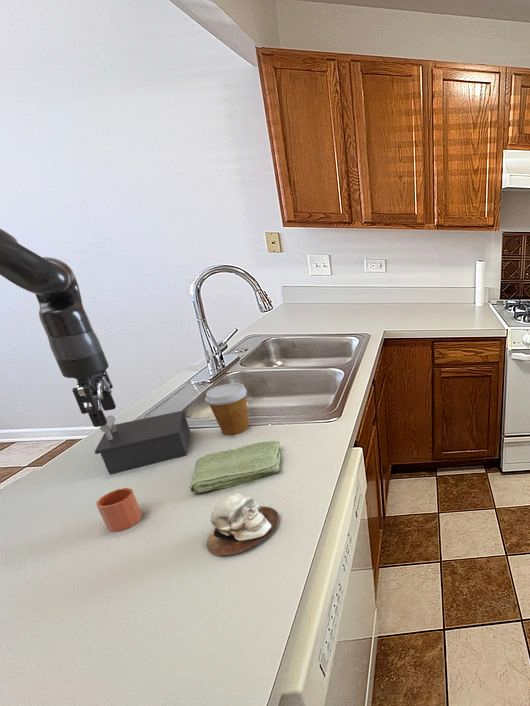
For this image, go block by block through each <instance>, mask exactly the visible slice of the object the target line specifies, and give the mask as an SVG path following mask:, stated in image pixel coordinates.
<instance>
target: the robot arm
mask: <svg viewBox="0 0 530 706" xmlns="http://www.w3.org/2000/svg"><path fill="white" fill-rule="evenodd" d="M0 276H1V277H3V278H4V279H6V280H7V281H8V282H10V283H12V284H14V285H15V286H17V287H19V288H20V289H23V290H25V291H27V292H29V293H32V294H34V295H35V297H36V300H37V302H38V305H39V309H38V317H39V321H40V323H41V326H42V328H43V330H44V332H45V335H46V337H47V340H48V344H49V347H50V350H51V352H52V354H53V356H54V359H55V361H56V363H57V366H58V368H59V371H60V372H61V375H62V376H63V377H64V378H67V379H74V380H76V387H73V388H72V393H73V396H74V397H75V400H76V403H77V406H78V408H79V410H80V413H81V414H82V415H85V414H87V415H88V416H89V419H90V421H91V424H92V425H93V427H95V428H98V427H99V428H100V427H101V426H104V425H106V424H107V420H106V415H105V413H104V411H106V412H107V411H112V410H115V409H116V407H117V405H116V403H115V400H114V397H113V395H112V393H113V390H112V389H113V388H114V386H113V383H112V382H111V379H110V376H109V374H108V372H107V370H108V368H109V367H110V365H109V362H108V359H107V358H106V354H105V352H104V350H103V347H102V345H101V341H100V339H99V338H98V336H97V334H96V332H95V331H94V329H93V326H92V323H91V321H90V318H89V316H88V313H87V311H86V309H85V307H84V305H83V302H82V301H83V300H82V295H81V292H80V291H81V290H80V287H79V283H78V280H77V277H76V274H75V273H74V271H73V269H72V267H70V266H69V265H68V264H67V263H66V262H64V261H63V260H61V259H59V258H55V257H50V256H41V255H39V254H38V253H36V252H34V251H32V250H31V249H29V248H27V247H26V246H23V245H22V244H20V243H19V241H18V240H17V238H16V237H15V236H13V235H12V234H10V233H9V232H8V231H6V230H4V229H3V228H0ZM90 405H91V406H90Z"/></svg>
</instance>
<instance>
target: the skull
mask: <svg viewBox="0 0 530 706" xmlns="http://www.w3.org/2000/svg"><path fill="white" fill-rule="evenodd" d="M279 518H280V517H279V513H278V512H277V510H275V509H274V508H272V507H269V506H261V504H260V503H259V502H258V501H256V500H254V498H253V497H252V496H248V495H245V494H243V493H240V492H239V493H238V492H237V493H232V494H229V495H227V496H225V497H224V498H222V499H221V500H220V501H218V502H217V504H216V505H215V506H214V508H213V510H212V512H211V515H210V522H211V524H212V526H213V527H214V529H212V531H211V532H210V533H209V535H208V538H207V540H206V545H205V546H206V549H207V550H208V552H210V553H211V554H213V555H216V556H228V555H230V556H231V555H234V554H238V553H241V552H243V551H247V550H249V549H251V548H253V547H255V546H256V545H258V544H259V543H261V542H262V541H264V540H265V539H266V538H267V537H269V536H270V535H271V534H272V532H273V533H274V530H275V529H276V527H277V525H278V523H279V520H280V519H279Z"/></svg>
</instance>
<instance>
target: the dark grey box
mask: <svg viewBox="0 0 530 706" xmlns="http://www.w3.org/2000/svg"><path fill="white" fill-rule="evenodd" d="M190 437H191V430H190V425H189V423H188V420H187V417H186V413H185V412H184V417H183V422H182V426H181V431H180V435H178V436H173V437H169V438H164V439H160V440H156V441H151V442H147V443H143V444H138V445H134V446H130V447H125V448H121V449H116V450H112V451H108V452H103V453H100V455H101V459H102V460H103V463H104V465H105V467H106V469H107V472H108V474H109V475H113V474H117V473H121V472H126V471H130V470H134V469H137V468H141V467H146V466H149V465H153V464H157V463H160V462H165V461H170V460H173V459H178V458H182V457H186V456H187V453H188V448H189V442H190Z"/></svg>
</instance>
